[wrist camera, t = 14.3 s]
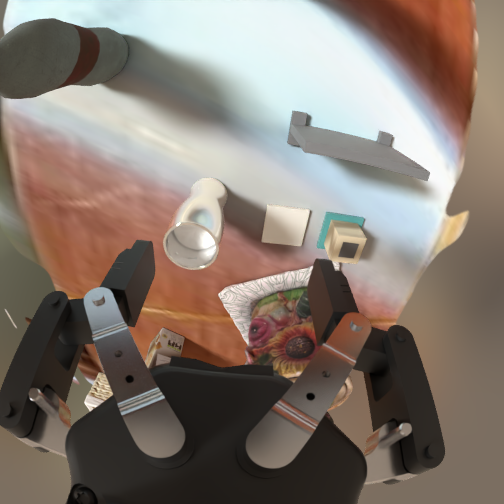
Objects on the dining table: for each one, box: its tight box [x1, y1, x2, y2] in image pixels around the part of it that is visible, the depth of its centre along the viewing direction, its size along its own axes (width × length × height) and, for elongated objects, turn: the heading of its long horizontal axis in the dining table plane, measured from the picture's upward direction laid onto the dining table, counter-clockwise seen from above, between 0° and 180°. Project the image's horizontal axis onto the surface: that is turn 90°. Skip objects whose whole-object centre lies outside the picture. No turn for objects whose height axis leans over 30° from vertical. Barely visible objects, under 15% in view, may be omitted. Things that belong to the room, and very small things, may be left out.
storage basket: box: [85, 373, 113, 411], centre depth 79 cm, size 24×16×15 cm
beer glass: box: [163, 178, 227, 270], centre depth 37 cm, size 7×7×15 cm
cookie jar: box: [218, 261, 353, 423], centre depth 46 cm, size 25×25×32 cm
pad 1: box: [261, 204, 310, 246], centre depth 46 cm, size 7×7×1 cm
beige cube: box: [324, 219, 367, 264], centre depth 45 cm, size 5×5×5 cm
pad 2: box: [317, 212, 364, 249], centre depth 47 cm, size 7×7×1 cm
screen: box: [287, 111, 430, 181], centre depth 32 cm, size 5×16×13 cm, turn 83°
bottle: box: [0, 18, 129, 99], centre depth 17 cm, size 9×9×30 cm
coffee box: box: [145, 328, 185, 369], centre depth 59 cm, size 9×6×16 cm
